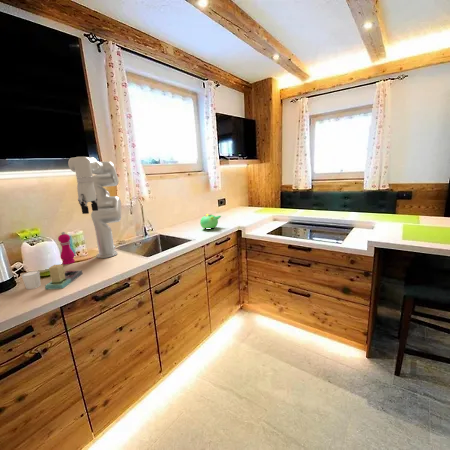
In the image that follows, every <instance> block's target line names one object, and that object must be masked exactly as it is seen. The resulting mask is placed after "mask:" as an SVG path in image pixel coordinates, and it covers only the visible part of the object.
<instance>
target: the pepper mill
mask: <svg viewBox="0 0 450 450" xmlns="http://www.w3.org/2000/svg"><path fill="white" fill-rule="evenodd" d="M57 239H58V241H59V244H60V246H61V253H60V259H61V260H62V261H63V262H62V264H63V265H70V264H71V265H72V264H73V263H75V261H76V260H75V252H74V251H73V250H72V248H71V245H70V244H71V242H70V240H71V237H70V235H69V234H67V233H65V231H62V232H61V234H60V235H58V238H57Z"/></svg>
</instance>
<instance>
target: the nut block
mask: <svg viewBox="0 0 450 450" xmlns="http://www.w3.org/2000/svg"><path fill="white" fill-rule="evenodd" d="M48 270H49V274H50V280H51V281H52V284H61V283H62V282H64V281H65V280H66V278H65V270H64V264H63V263H62V264H53V265H52V266H50V267H48Z"/></svg>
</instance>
